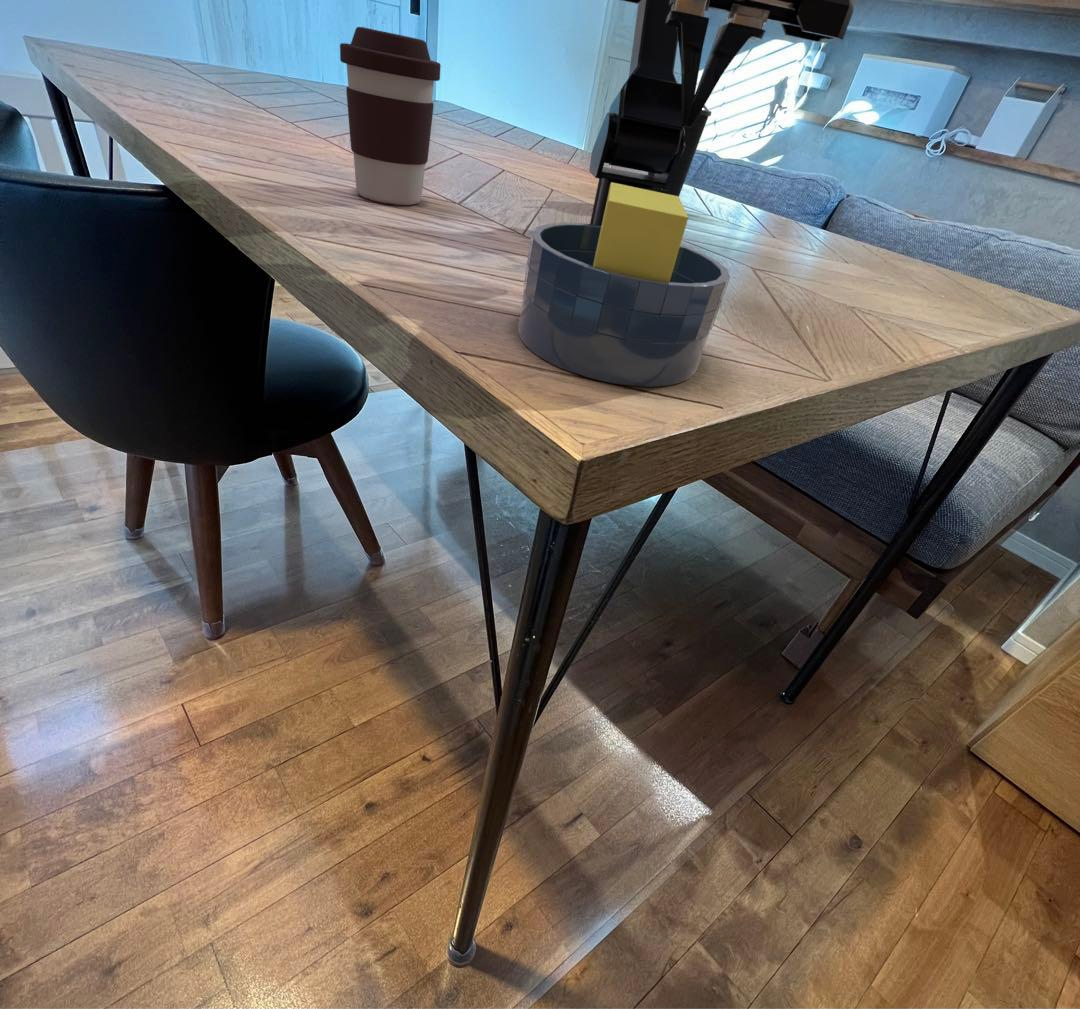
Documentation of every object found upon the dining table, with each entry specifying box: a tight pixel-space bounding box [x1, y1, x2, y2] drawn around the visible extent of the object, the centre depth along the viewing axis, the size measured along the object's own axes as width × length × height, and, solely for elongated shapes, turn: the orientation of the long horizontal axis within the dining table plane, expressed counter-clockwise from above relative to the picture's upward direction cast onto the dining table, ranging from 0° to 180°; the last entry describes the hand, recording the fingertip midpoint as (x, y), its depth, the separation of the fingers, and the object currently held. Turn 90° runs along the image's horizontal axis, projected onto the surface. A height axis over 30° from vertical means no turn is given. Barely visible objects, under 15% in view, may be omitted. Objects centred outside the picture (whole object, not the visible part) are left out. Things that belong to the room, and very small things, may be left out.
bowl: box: [517, 222, 731, 388], centre depth 41 cm, size 13×13×6 cm
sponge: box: [593, 182, 689, 282], centre depth 37 cm, size 7×4×7 cm, turn 173°
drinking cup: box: [647, 104, 712, 198], centre depth 85 cm, size 8×8×20 cm
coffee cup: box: [339, 26, 442, 206], centre depth 63 cm, size 10×10×15 cm
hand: (686, 126), depth 50 cm, fingers closed
